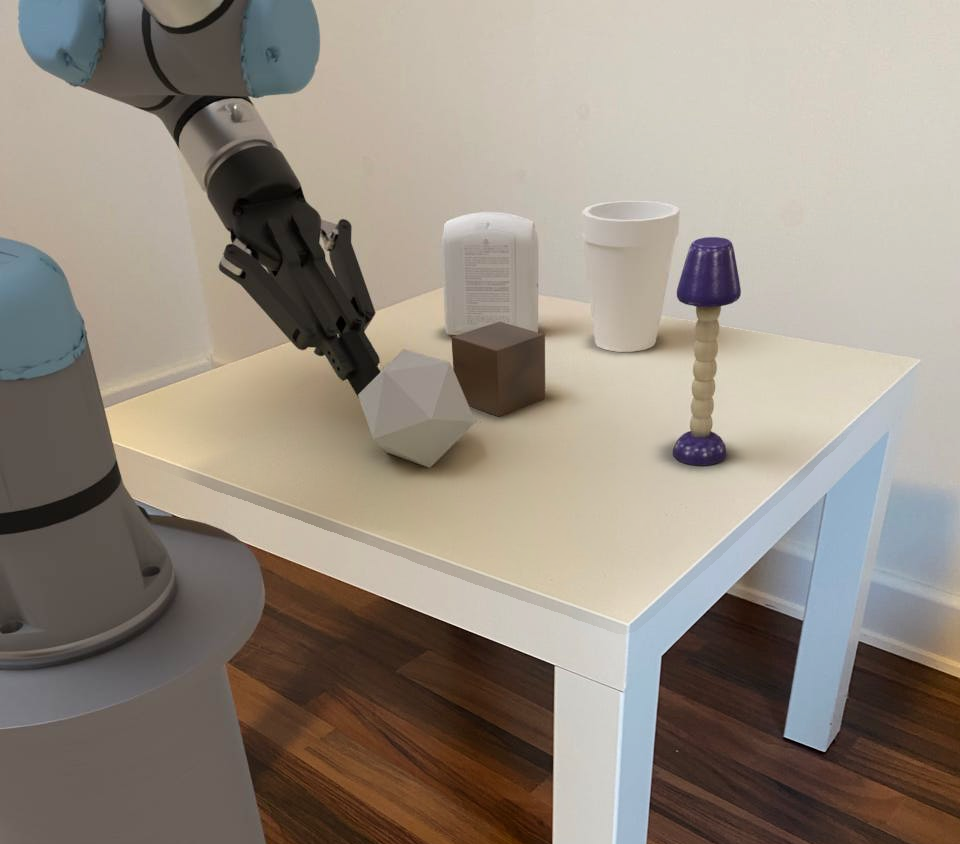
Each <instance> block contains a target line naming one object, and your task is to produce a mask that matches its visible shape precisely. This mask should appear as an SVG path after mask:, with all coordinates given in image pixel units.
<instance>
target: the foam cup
mask: <svg viewBox="0 0 960 844" xmlns="http://www.w3.org/2000/svg"><path fill="white" fill-rule="evenodd" d="M680 211H681V210H680V208H679V207H677V206H676V205H675V204H671V203H667V202H662V201H655V200H641V199H640V200H637V199H636V200H615V201H614V200H613V201H607V202H600V203H596V204H592V205H589V206H586V207H585V208H583V210H581V233H580V235H581V238H582V239H583V247H584V253H585V263H586V264H585V265H586V273H587V283H588V291H589V292H588V293H589V301H590V310H591V319H592V321H591V322H592V329H593V337H594V343H595V346H597V347H598V348H600V349H603V350H606V351H611V352H618V353H633V352H640V351H645V350H648V349H650V348H652V347H654V345H655V344H656V342H657V337H658V333H659V328H660V324H661V323H660V322H661V319H662V318H661V317H662V312H663V307H664V302H665V295H666V290H667V285H668V280H669V275H670V269H671V264H672V258H673V254H674V253H673V252H674V249H675V244H676V239H677V237H678V236H679V227H680Z"/></svg>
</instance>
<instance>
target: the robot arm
mask: <svg viewBox="0 0 960 844" xmlns="http://www.w3.org/2000/svg"><path fill="white" fill-rule="evenodd" d="M17 10H18V16H17V20H18V23H17V25H18V33H19V37H20V40H21V43H22V46H23V48H24V50H25V51H26V54H27V55H28V56H29V58H30V59H31V60H32V62H33V63H34V64H35V65H36V66H37V67H38V68H40V69H41V70H43V72H46V73H48V74H50V75H52V76H54V77H56V78H58V79H60V80H62V81H64V82H65V83H67V84H69V86H71V87H73V88H76V87H79V88H83V89H85V90H88V91H90V92H93V93H96V94H98V95H101V96H104V97H107V98H109V99H112V100H116V101H118V102H120V103H123V104H126V105H129V106H131V107H133V108H136V109H138V110H141V111H144V112H147V113H149V114H151V115H154V116H156V117H157V118H159V120H160V121H161V122H162V124H163V125H164V127H165V128H166V130H167V131H168V133H169V135H170V136H171V137H172V140H173V141H174V143H175V144H176V146H177V148H178V150H179V152H180V153H181V155H182V157H183V158H184V160H185V162H186V163H187V165H188V168H189V169H190V171H191V173H192V174H193V176H194V178H195V180H196V182H197V183H198V185H199V187H200V189H201V190H202V191H203V192H204V193H206V196H207V199H208V201H209V202H210V204H211V206H212V208H213V210H214V211H215V213H216V215H217V216H218V218H219V220H220V221H221V223H222V225H223V226H224V228H225V230H227V232H228V233H230V242H231V243H228V244H226V245H225V248H224V251H223V253H222V256H221V258H220V261H219V264H218V270H219V271H220V272H221V273H222V274H223V275H225V276H226V277H228V278H230V279H231V280H233V281H234V282H236V283H237V284H239V285H240V286H241V287H242V288H243V289H244V291H246V293H247V294H248V295H249V296H250V297H251V298H252V299H253V301H254V302H255V303H256V304H257V305H258V306H259V307H260V308H261V310H262V311H263V312H264V313H265V314H266V315H267V316H268V318H269V319H270V320H271V321H272V322H273V323H274V324H275V326H276V327H278V329H279V330H280V331H281V332H282V333H283V334H284V335H285V336H286V338H287V339H288V340H289V341H290V342H291V343H292V344H293V346H295V348H297V350H300V351H306V350H308V348H314V350H313V353H314V354H315V355H316V356H318V357H324V356H325V357H326V359H327V361H328V363H329V364H330V366H331V367H332V370H333V371H334V373H335V374H336V376H337V378H339V380H341V381H342V382H344V381H348V383H349V384H350V387H351V388H352V390H353V391H354V393H355V395H356V396H357V398H358V399H359V397H358V394H359V393H360V392H361V391H362V390H363V389H364V388H365V387H366V386H367V385H368V384H369V383H370V382H371V381H372V380H373V379H374V378H375V377H376V376H377V375H378V374H379V373H380V372H381V370H380V368H379V365H380V363H381V359H380V356H379V354H378V353H377V351H376V349H375V348H374V347H373V344H372V343H371V341H370V339H369V338H368V336H367V334H366V332H365V331H366V330H367V329H368V327H369V325H370V323H371V322H372V321H373V319H374V317H375V315H376V310H375V307H374V303H373V301H372V298H371V295H370V293H369V290H368V287H367V284H366V281H365V278H364V275H363V272H362V270H361V266H360V263H359V261H358V258H357V256H356V252H355V250H354V247H353V244H352V230H353V228H352V227H353V226H352V223H351V222H350V221H349V220H348V219H345V218H341V219H339V221H338V222H337V224H336V223H333V222H330V221H327V220H324V219H322V217H321V215H320V213H319V211H318V210H316V209H315V208H314V207H313V206H312V205H311V204H310V203H309V202H308V201H307V200H306V198H305V195H304V191H303V187H302V184H301V181H300V180H299V179H298V177H297V175H296V173H295V171H294V170H293V168H292V166H291V165H290V164H289V163H290V162H289V161H288V160H287V159H286V156H285V155H284V154H283V152H282V151H281V150H280V149H279V148H278V144H277V142H276V140H275V138H274V137H273V135H272V133H271V132H270V130H269V129H268V127H267V125H266V123H265V122H264V120H263V118H262V117H261V115H260V113H259V111H258V110H257V108H256V107H255V105H254V103H253V102H252V100H251V99H250V97H251V98H253V99H260V98H263V97H266V96H279V95H292V94H296V93H298V92H301V91H302V90H304V89H305V88H306V87H307V86H308V85H309V83H310V82H311V80H312V79H313V78H314V75H315V72H316V66H317V64H318V62H319V59H320V53H321V30H320V24H319V23H320V22H319V19H318V15H317V11H316V8H315V5H314V2H313V0H18V4H17ZM321 239H322V242H323V245H324V246H322V245H321V243H320V242H321V241H320V240H321ZM325 251H326V252H328V253H329V254H328V255H329V261H330V265H331V266H330V265H329V263H328V261H327V260H326V253H325ZM331 267H332V268H331ZM71 289H72V288H71V286H70V284H69V280H68V278H67V276H66V273H65V272H64V271H63V269H62V267H61V266H60V265H59V264H58V263H57V261H55V259H54V258H52V257H51V256H50V255H48V254H47V253H46V252H44V251H43V250H41V249H39V248H37V247H36V246H33V245H31V244H28V243H25V242H22V241H18V240H16V239H11V238H6V237H1V236H0V669H12V670H18V669H36V668H45V667H51V666H57V665H62V664H67V663H71V662H75V661H79V660H82V659H86V658H89V657H92V656H95V655H98V654H101V653H103V652H106V651H108V650H111V649H113V648H115V647H117V646H119V645H122V644H123V643H125V642H127V641H129V640H131V639H133V638H134V637H136V636H138V635H139V634H141V633H143V632H144V631H145V630H147V629H148V628H150V627H151V626H152V625H153V624H154V623H156V622H157V621H158V620H159V619H160V618H161V617H162V616H163V615H164V614H165V613H166V611H167V610H168V609H169V608H170V606H171V604H172V603H173V601H174V599H175V596H176V593H177V580H176V575H175V571H174V567H173V564H172V561H171V559H170V557H169V554H168V552H167V550H166V548H165V546H164V545H163V543H162V542H161V540H160V539H159V537H158V536H157V534H156V533H155V531H154V530H153V528H152V527H151V525H150V524H149V522H148V521H147V519H148V520H150V521H152V519H151V518H150V516H149V515H150V514H149V513H148V512H147V510H146V508H144V507H143V506H141V505H138V504H137V503H136V501H135V500H134V498H133V497H132V495H131V494H130V493H129V490H128V489H127V488H126V486H125V484H124V481H123V477H122V474H121V471H120V467H119V463H118V458H117V454H116V451H115V450H116V449H115V447H114V442H113V439H112V434H111V429H110V426H109V422H108V421H109V420H108V417H107V413H106V409H105V406H104V405H105V404H104V401H103V397H102V393H101V389H100V385H99V380H98V377H97V373H96V368H95V365H94V360H93V355H92V351H91V348H90V343H89V340H88V336H87V334H88V332H87V331H86V324H85V320H84V317H83V316H82V314H81V312H80V310H79V309H78V308H77V306H76V302H75V299H74V296H73V293H72V290H71ZM148 514H149V515H148ZM152 522H153V521H152Z"/></svg>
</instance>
